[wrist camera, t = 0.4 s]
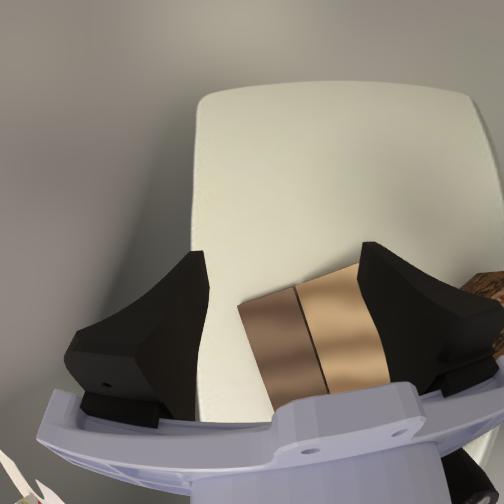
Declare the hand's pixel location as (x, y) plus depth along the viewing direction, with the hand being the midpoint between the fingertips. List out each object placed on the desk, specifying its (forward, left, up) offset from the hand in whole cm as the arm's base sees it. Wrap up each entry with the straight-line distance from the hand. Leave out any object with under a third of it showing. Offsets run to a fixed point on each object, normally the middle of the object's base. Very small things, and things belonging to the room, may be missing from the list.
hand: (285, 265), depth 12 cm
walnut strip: (-11, +5, -27) cm, 29 cm away
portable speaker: (-39, -14, -27) cm, 50 cm away
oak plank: (-11, -5, -24) cm, 27 cm away
